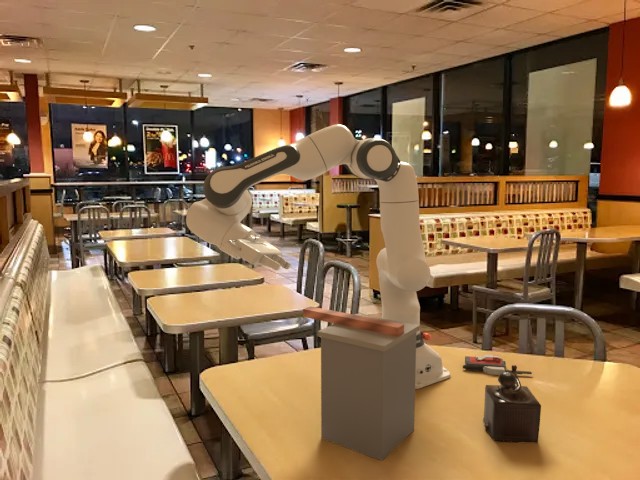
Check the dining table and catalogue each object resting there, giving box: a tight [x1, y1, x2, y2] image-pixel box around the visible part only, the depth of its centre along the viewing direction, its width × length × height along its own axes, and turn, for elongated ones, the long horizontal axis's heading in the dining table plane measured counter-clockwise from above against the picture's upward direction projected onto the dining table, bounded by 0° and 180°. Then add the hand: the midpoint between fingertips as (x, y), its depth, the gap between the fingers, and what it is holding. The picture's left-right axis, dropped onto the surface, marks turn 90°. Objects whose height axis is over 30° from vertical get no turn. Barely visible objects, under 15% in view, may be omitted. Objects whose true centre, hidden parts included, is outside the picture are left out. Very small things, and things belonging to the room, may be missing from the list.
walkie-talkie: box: [462, 354, 533, 376], centre depth 162 cm, size 9×4×20 cm
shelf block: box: [317, 313, 420, 461], centre depth 122 cm, size 17×17×26 cm
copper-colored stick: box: [302, 306, 404, 337], centre depth 123 cm, size 26×3×2 cm, turn 55°
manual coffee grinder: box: [482, 364, 542, 443], centre depth 121 cm, size 16×11×18 cm
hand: (284, 267), depth 134 cm, fingers open, 8 cm apart
